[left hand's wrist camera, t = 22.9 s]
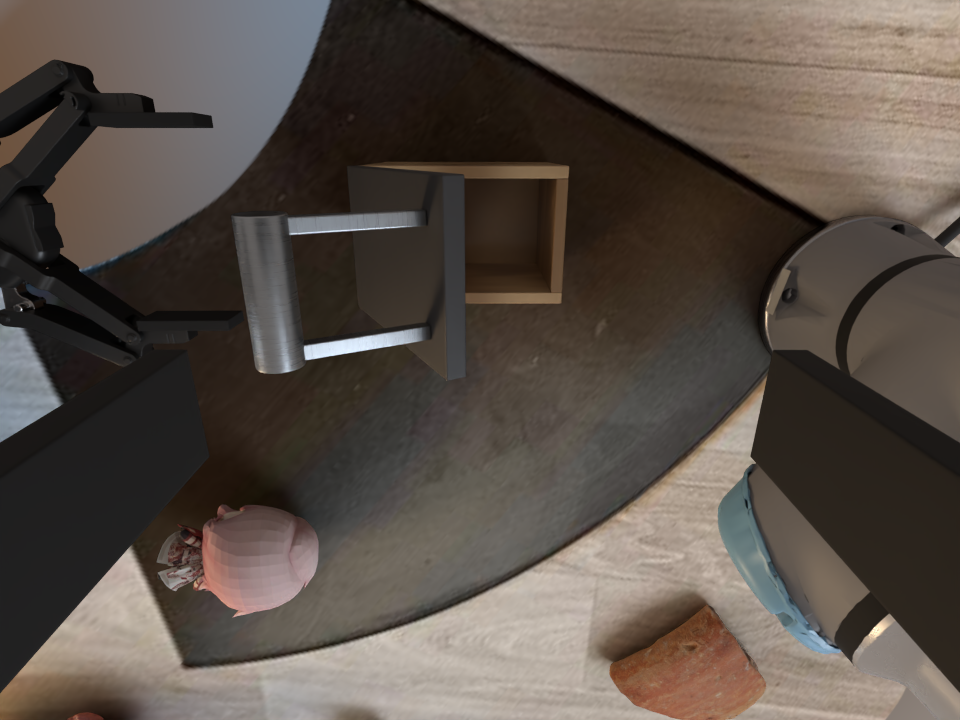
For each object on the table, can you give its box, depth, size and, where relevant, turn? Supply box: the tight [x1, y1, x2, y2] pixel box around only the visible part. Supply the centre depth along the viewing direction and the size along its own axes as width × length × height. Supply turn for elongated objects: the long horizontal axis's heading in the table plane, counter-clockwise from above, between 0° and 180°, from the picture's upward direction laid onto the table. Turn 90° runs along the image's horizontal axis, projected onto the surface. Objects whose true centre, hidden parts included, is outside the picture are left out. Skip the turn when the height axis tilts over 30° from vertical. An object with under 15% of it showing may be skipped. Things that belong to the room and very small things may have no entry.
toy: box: [157, 504, 318, 617], centre depth 53 cm, size 12×11×15 cm
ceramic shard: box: [610, 605, 766, 720], centre depth 63 cm, size 15×6×15 cm
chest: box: [358, 162, 569, 303], centre depth 41 cm, size 14×9×11 cm
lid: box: [231, 166, 466, 380], centre depth 28 cm, size 14×9×9 cm
